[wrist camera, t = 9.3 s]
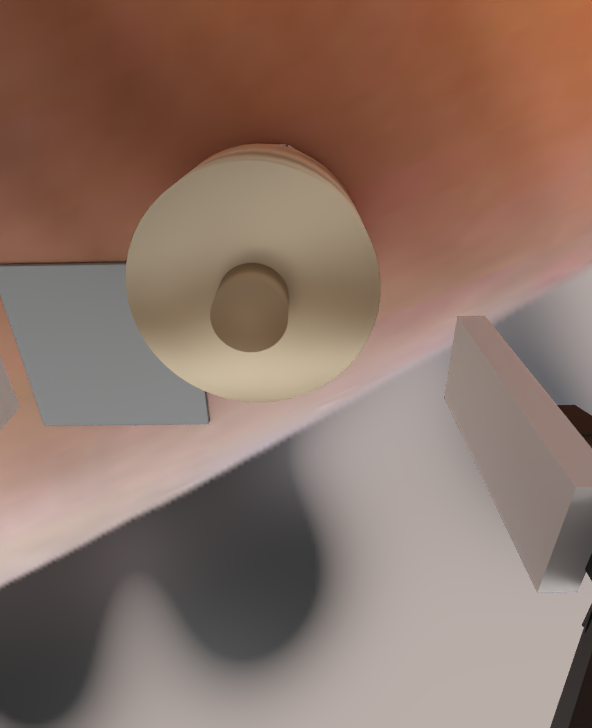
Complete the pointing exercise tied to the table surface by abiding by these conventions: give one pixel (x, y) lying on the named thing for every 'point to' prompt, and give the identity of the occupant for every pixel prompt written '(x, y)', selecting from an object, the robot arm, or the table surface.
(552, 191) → the table surface
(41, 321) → the mat
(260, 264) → the beige round piece
